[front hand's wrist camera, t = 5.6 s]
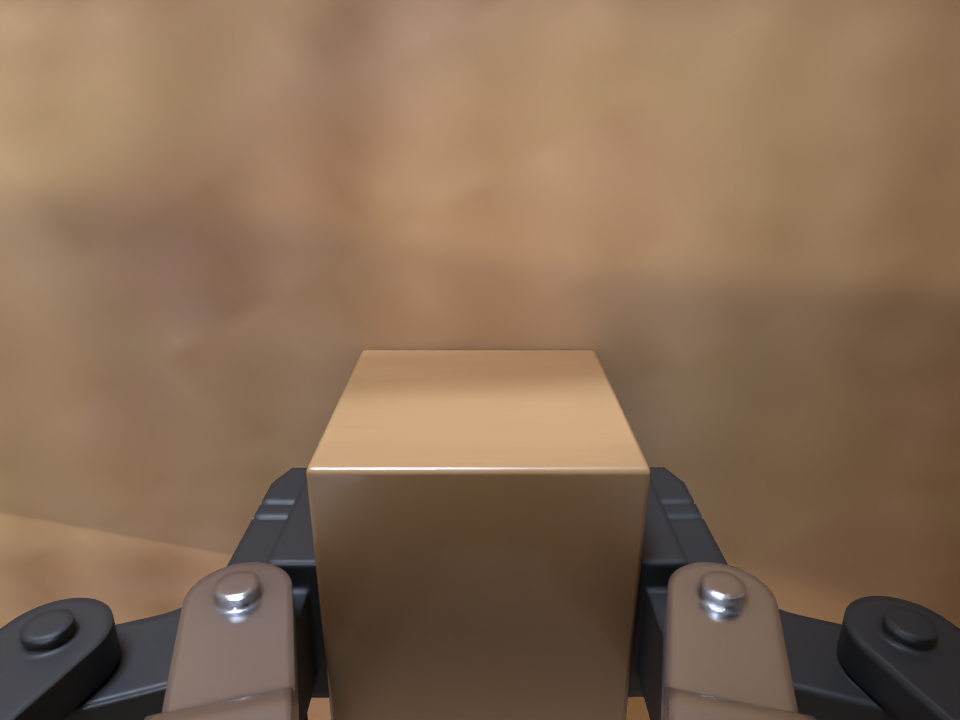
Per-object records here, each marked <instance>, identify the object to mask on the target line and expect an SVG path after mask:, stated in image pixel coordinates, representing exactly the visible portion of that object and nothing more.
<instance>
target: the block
mask: <svg viewBox="0 0 960 720" xmlns="http://www.w3.org/2000/svg"><path fill="white" fill-rule="evenodd" d="M650 473H651V471H650V469H649V466H648V464H647V462H646V460H645V458H644V455H643V453H642V451H641V449H640V447H639V445H638V442H637V440H636V438H635V436H634V434H633V432H632V430H631V427H630V425H629V423H628V421H627V419H626V417H625V414H624V412H623V410H622V408H621V406H620V404H619V402H618V399H617V397H616V395H615V393H614V391H613V389H612V387H611V384H610V382H609V380H608V378H607V376H606V374H605V371H604V369H603V367H602V365H601V363H600V361H599V359H598V356H597V354H596V352H595V351H593V350H365V351H362V353H361V355H360V357H359V359H358V362H357V364H356V366H355V368H354V370H353V372H352V374H351V376H350V379H349V381H348V383H347V385H346V387H345V389H344V391H343V393H342V396H341V398H340V400H339V402H338V404H337V406H336V408H335V410H334V413H333V415H332V417H331V419H330V421H329V423H328V425H327V427H326V430H325V432H324V434H323V436H322V438H321V440H320V442H319V444H318V447H317V449H316V451H315V453H314V455H313V457H312V459H311V461H310V464H309V466H308V468H307V471H306V475H307V485H308V495H309V505H310V515H311V524H312V534H313V544H314V554H315V564H316V574H317V583H318V593H319V603H320V613H321V623H322V632H323V642H324V652H325V662H326V672H327V681H328V691H329V701H330V711H331V720H626V713H627V703H628V693H629V683H630V673H631V663H632V653H633V643H634V633H635V623H636V613H637V603H638V593H639V583H640V573H641V563H642V553H643V543H644V533H645V523H646V513H647V503H648V493H649V483H650Z"/></svg>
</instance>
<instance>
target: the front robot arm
mask: <svg viewBox="0 0 960 720" xmlns="http://www.w3.org/2000/svg"><path fill="white" fill-rule="evenodd" d="M649 469H650V471H651V473H650V483H649V493H648V503H647V513H646V523H645V533H644V543H643V553H642V563H641V573H640V583H639V593H638V603H637V613H636V623H635V633H634V643H633V653H632V663H631V673H630V683H629V693H628V697H644V699H645V702H646V706H647V710H648V713H649V717H650V720H960V629H959V628H958V627H956V626H955V625H953V624H952V623H951V622H949V621H948V620H946V619H945V618H943V617H942V616H940V615H939V614H937V613H935V612H933V611H931V610H929V609H927V608H925V607H922V606H920V605H918V604H915V603H912V602H909V601H906V600H902V599H898V598H892V597H884V596H869V597H863V598H860V599H857V600H855V601H853V602H852V603H850V604H849V606H848V607H847V608H846V611H845V614H844V618H843V623H842V625H841V624H836V623H832V622H827V621H823V620H818V619H814V618H809V617H805V616H800V615H796V614H792V613H789V612H785V611H783V610H780V609H778V604H777V601H776V598H775V597H774V595H773V593H772V592H771V590H770V589H769V588H768V587H767V586H766V585H765V584H764V583H763V582H762V581H760V580H759V579H757V578H756V577H755V576H753V575H751V574H749V573H747V572H746V571H743V570H741V569H738V568H736V567H732V566H729V565H728V564H727V562H726V560H725V559H724V557H723V555H722V553H721V551H720V549H719V547H718V545H717V544H716V542H715V540H714V538H713V536H712V534H711V532H710V530H709V529H708V527H707V525H706V523H705V521H704V519H702V518H701V514H700V512H699V510H698V508H697V506H696V504H694V501H693V499H692V497H691V495H690V493H689V491H688V489H687V487H686V486H685V484H684V482H682V481H681V480H680V479H678V478H677V477H676V476H674V475H673V474H672V473H671V472H669V471H668V470H667V469H665V468H649ZM306 471H307V468H292V469H290V470H289V471H288V472H286V473H285V474H284V475H282V476H281V477H280V478H278V479H277V480H276V481H275V482H273V483H272V484H271V486H270V488H269V490H268V492H267V494H266V495H265V497H264V499H263V501H262V505H260V506H259V508H258V510H257V512H256V514H255V516H254V520H252V521H251V523H250V525H249V527H248V529H247V530H246V532H245V534H244V536H243V538H242V540H241V541H240V543H239V545H238V547H237V549H236V551H235V552H234V554H233V556H232V558H231V560H230V562H229V564H228V565H227V567H224V568H222V569H219V570H217V571H214V572H213V573H211V574H209V575H207V576H205V577H204V578H203V579H201V580H200V581H198V582H197V583H196V584H195V585H194V586H193V587H192V588H191V589H190V590H189V592H188V593H187V595H186V596H185V598H184V601H183V604H182V608H180V609H177V610H175V611H172V612H169V613H166V614H162V615H158V616H154V617H150V618H145V619H140V620H136V621H131V622H127V623H122V624H118V625H115V622H114V618H113V614H112V611H111V609H110V608H109V607H108V606H107V605H106V604H104V603H103V602H101V601H98V600H95V599H89V598H71V599H65V600H59V601H55V602H51V603H48V604H45V605H42V606H40V607H37V608H35V609H32V610H30V611H28V612H26V613H24V614H22V615H21V616H19V617H17V618H15V619H14V620H12V621H11V622H9V623H8V624H7V625H5V626H4V627H2V628H1V629H0V720H308V716H307V711H308V707H309V704H310V700H311V698H329V691H328V681H327V672H326V662H325V652H324V642H323V632H322V623H321V613H320V603H319V593H318V583H317V574H316V564H315V554H314V544H313V534H312V524H311V515H310V505H309V495H308V485H307V475H306Z"/></svg>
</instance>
